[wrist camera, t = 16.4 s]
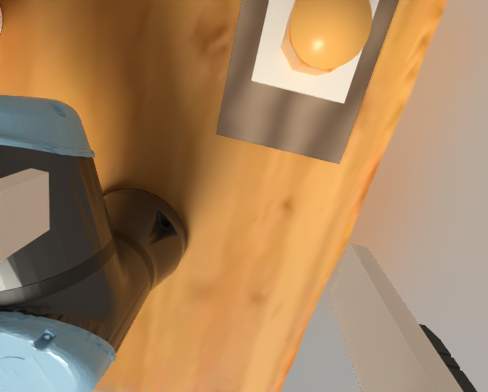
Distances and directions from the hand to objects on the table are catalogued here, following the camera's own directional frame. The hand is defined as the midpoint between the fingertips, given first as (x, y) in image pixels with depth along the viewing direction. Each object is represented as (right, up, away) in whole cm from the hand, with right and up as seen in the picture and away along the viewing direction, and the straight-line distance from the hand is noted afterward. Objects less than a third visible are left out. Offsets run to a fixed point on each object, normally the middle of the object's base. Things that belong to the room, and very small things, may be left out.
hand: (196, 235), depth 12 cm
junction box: (+9, +19, +20) cm, 28 cm away
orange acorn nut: (+9, +17, +16) cm, 25 cm away
